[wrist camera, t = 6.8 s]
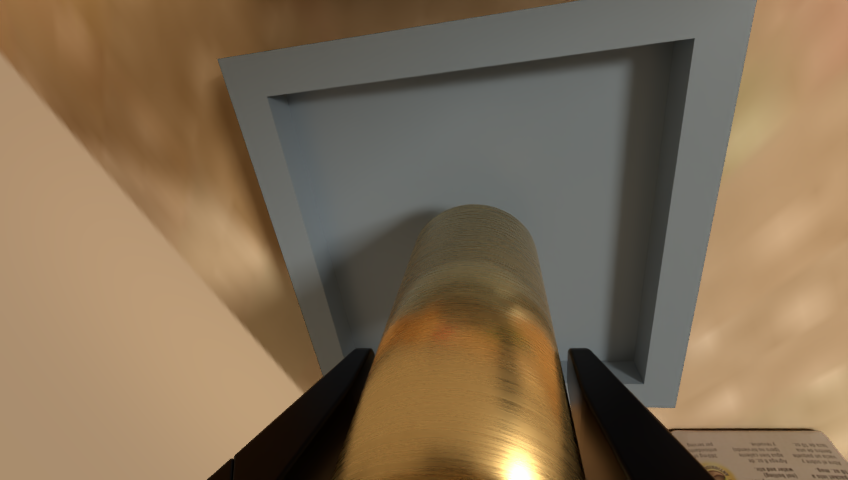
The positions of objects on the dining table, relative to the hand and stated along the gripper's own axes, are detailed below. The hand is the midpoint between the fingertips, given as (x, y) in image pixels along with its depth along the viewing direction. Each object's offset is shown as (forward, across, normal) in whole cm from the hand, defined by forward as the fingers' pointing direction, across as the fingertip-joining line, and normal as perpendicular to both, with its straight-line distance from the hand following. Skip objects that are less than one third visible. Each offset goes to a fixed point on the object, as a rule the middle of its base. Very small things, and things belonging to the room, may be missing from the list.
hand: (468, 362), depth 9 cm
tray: (+7, 0, 0) cm, 7 cm away
